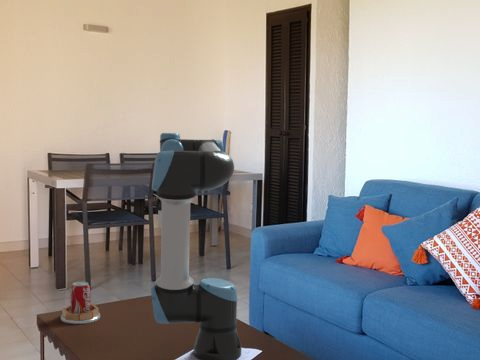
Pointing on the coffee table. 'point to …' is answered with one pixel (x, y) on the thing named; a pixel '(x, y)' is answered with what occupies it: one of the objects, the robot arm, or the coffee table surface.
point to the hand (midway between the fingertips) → (169, 230)
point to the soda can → (80, 297)
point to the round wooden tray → (80, 315)
